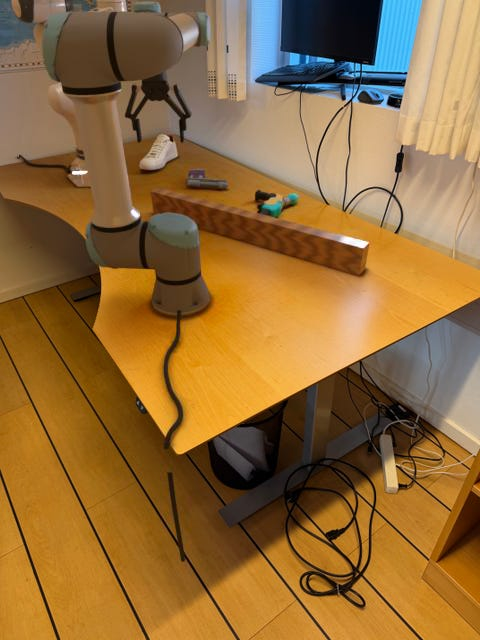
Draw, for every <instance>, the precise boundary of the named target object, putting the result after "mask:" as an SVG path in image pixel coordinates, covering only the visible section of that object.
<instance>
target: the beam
mask: <svg viewBox="0 0 480 640" xmlns="http://www.w3.org/2000/svg"><path fill="white" fill-rule="evenodd" d="M150 197H151V203H152V204H151V205H152V212H153V216H154V215H156V214H162V213H177V214H182V215H185V216H187V217H189V218H190V219H192V220H193V221H194V222H195V223H196V225H197V228H198V229H201V230H204V231H208V232H212V233H214V234H218V235H221V236H224V237H228V238H231V239H233V240H238V241H241V242H245V243H248V244H252V245H255V246H258V247H261V248H264V249H268V250H270V251H271V250H272V251H274V252H278V253H281V254H286V255H288V256H292V257H295V258H298V259H302V260H305V261H308V262H312V263H315V264H319V265H322V266H325V267H329V268H332V269H334V270H339V271H341V272H344V273H349V274H352V275H355V276H358V277H359V276H361V275H362V273H363V272H364V271H365V270H366V267H367V261H368V254H369V249H370V248H369V247H370V241H366V240H362V239H358V238H355V237H351V236H347V235H342V234H340V233H335V232H332V231H328V230H323V229H319V228H317V227H312V226H308V225H305V224H300V223H297V222H292V221H290V220H286V219H281V218H277V217H275V218H274V217H270V216H266V215H263V214H259V213H257V212H256V211H255V212H254V211H250V210H247V209H243V208H239V207H236V206H231V205H228V204H223V203H220V202H216V201H212V200H208V199H205V198H201V197H197V196H194V195H190V194H185V193H182V192H177V191H174V190H170V189H167V188H163V187H157V188H154V189H153V190H151V191H150Z"/></svg>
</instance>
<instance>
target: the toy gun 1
mask: <svg viewBox="0 0 480 640" xmlns="http://www.w3.org/2000/svg"><path fill="white" fill-rule="evenodd" d="M187 175H188V177H187V178H186V182H185V185H187V187H188V188H198V189H212V190H213V189H216V190H227V188H228V186H229V184H228V180H227V179H220V178H219V179H218V178H216V179H215V178H206V172H205V169H201V168H196V169H195V168H194V169H190V170H189V171H188V174H187Z"/></svg>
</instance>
